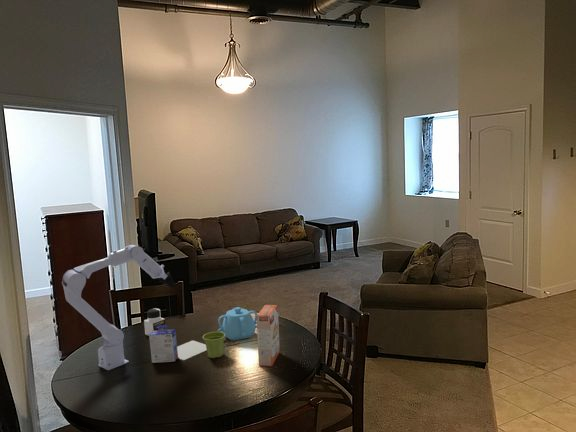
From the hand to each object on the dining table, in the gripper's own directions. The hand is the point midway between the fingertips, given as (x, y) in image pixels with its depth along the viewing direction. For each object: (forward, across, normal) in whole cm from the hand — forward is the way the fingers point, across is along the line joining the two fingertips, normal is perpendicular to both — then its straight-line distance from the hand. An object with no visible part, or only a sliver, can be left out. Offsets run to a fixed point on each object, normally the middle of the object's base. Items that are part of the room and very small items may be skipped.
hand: (170, 284), depth 210 cm
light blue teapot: (+39, -11, -2) cm, 40 cm away
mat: (+22, -10, +17) cm, 30 cm away
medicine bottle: (+21, +20, +20) cm, 35 cm away
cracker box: (+36, -42, +1) cm, 55 cm away
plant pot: (+26, -23, +12) cm, 37 cm away
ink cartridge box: (+14, -13, +26) cm, 32 cm away
